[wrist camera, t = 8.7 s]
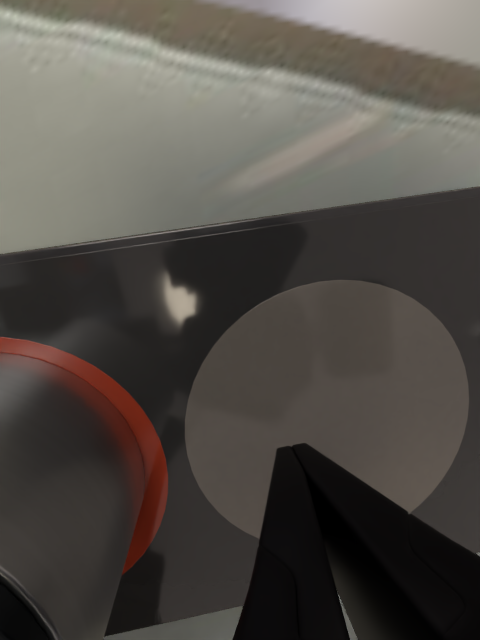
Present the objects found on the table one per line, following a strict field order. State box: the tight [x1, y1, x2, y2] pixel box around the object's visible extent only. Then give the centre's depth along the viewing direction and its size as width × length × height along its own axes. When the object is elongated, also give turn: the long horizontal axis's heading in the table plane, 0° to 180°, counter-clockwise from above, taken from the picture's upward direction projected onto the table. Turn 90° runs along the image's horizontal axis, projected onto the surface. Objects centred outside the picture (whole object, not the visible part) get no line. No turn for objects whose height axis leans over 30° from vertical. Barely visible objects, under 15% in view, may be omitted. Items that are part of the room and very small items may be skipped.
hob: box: [0, 186, 480, 637], centre depth 10 cm, size 23×14×1 cm, turn 98°
